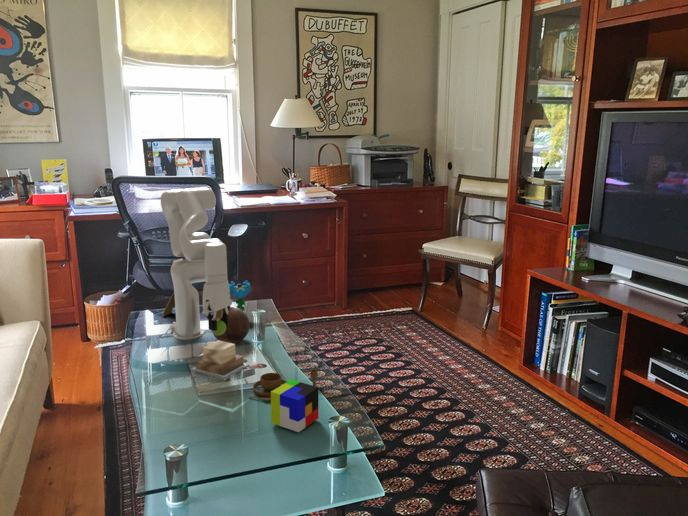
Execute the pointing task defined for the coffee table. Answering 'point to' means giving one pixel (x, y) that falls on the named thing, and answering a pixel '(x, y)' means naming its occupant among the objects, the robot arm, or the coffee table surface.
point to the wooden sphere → (235, 327)
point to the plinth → (220, 367)
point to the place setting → (274, 383)
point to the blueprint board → (223, 375)
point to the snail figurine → (219, 323)
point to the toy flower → (239, 292)
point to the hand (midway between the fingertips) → (218, 327)
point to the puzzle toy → (294, 405)
